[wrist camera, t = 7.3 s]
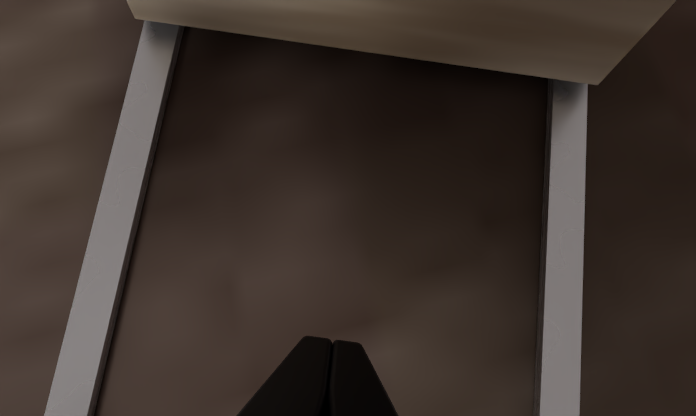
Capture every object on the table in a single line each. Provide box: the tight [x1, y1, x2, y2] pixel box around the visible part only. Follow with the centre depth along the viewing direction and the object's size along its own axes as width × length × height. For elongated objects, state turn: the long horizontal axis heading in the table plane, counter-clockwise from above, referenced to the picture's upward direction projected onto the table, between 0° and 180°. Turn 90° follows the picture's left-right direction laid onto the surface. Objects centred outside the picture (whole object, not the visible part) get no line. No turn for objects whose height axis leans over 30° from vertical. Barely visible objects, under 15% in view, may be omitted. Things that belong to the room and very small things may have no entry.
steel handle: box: [44, 20, 588, 416], centre depth 17 cm, size 16×13×1 cm
